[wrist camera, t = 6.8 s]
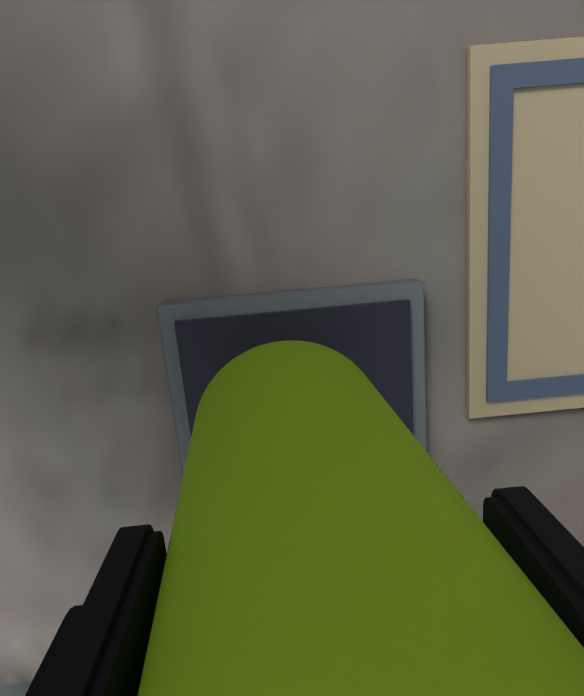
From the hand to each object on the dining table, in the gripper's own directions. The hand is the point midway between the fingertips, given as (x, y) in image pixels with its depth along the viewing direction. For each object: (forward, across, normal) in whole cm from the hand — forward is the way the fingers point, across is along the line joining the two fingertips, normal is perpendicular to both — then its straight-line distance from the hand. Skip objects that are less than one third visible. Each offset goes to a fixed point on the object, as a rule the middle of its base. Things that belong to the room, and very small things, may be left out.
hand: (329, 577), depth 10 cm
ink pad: (+11, 0, 0) cm, 11 cm away
